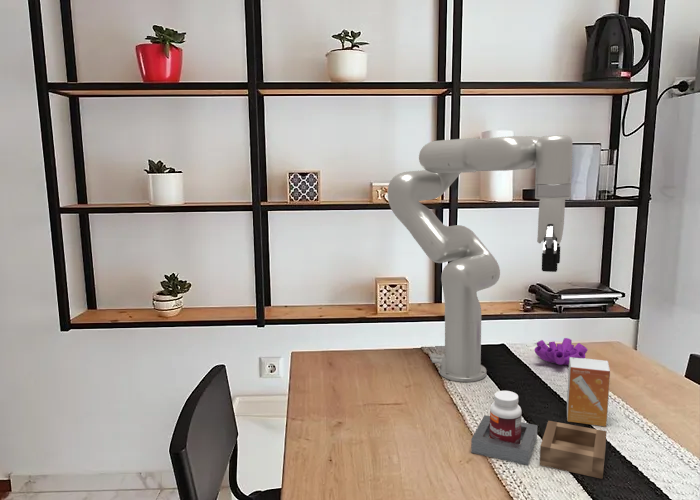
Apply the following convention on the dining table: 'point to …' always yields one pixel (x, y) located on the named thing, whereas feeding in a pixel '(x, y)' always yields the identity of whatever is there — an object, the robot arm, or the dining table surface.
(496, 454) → the socket block
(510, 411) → the pill bottle
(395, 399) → the dining table surface
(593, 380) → the small box
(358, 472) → the dining table surface
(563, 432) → the tray
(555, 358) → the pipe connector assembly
